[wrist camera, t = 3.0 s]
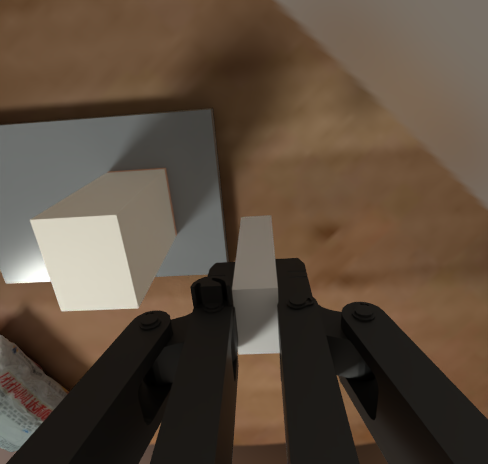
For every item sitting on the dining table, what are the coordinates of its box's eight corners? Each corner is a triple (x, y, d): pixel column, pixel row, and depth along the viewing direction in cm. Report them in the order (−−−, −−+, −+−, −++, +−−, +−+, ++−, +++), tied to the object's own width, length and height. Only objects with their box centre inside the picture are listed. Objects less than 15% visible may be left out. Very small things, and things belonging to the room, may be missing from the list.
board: (15, 275, 29) (6, 283, 28) (-43, 127, 24) (-57, 129, 23) (229, 265, 28) (228, 273, 27) (212, 108, 23) (210, 109, 22)
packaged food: (16, 317, 31) (-26, 358, 26) (104, 400, 35) (80, 448, 30) (-45, 353, 33) (-93, 397, 29) (43, 427, 37) (13, 476, 32)
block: (124, 237, 26) (61, 311, 17) (108, 171, 24) (29, 219, 15) (177, 234, 25) (138, 308, 17) (166, 167, 23) (116, 214, 15)
